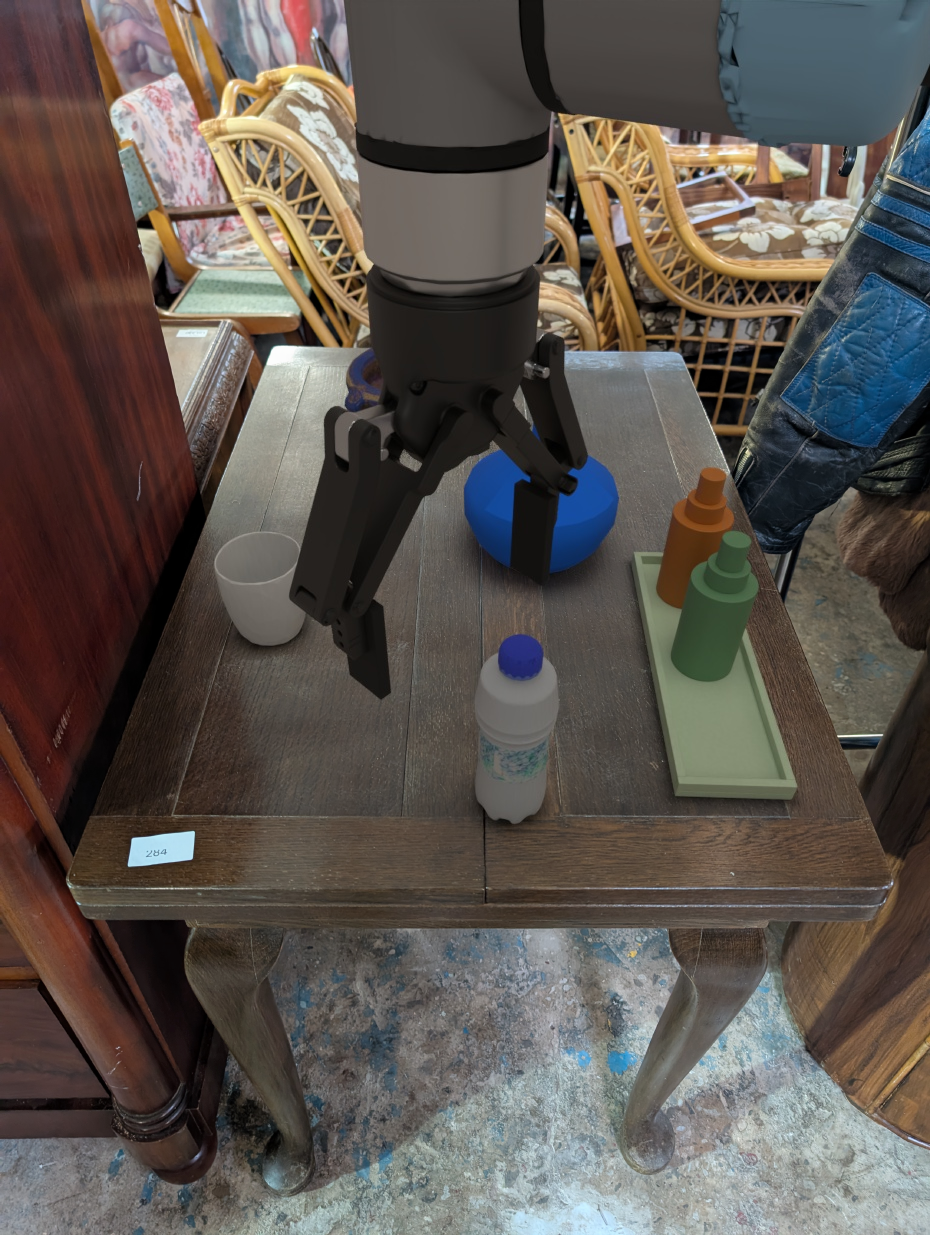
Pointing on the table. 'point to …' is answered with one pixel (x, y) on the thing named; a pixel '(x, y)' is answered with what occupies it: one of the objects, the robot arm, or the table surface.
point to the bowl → (363, 382)
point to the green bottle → (715, 611)
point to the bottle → (514, 728)
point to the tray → (711, 711)
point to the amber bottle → (693, 535)
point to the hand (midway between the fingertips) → (455, 625)
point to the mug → (260, 586)
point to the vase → (578, 514)
